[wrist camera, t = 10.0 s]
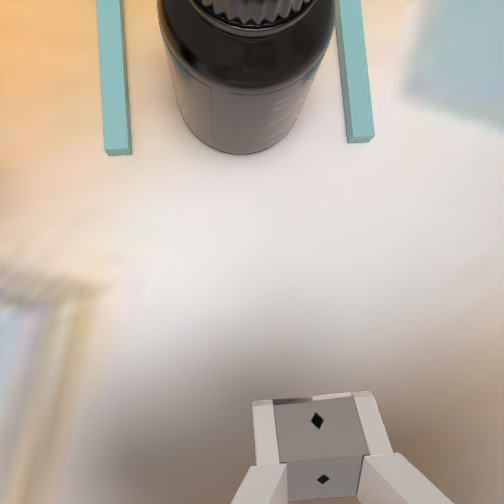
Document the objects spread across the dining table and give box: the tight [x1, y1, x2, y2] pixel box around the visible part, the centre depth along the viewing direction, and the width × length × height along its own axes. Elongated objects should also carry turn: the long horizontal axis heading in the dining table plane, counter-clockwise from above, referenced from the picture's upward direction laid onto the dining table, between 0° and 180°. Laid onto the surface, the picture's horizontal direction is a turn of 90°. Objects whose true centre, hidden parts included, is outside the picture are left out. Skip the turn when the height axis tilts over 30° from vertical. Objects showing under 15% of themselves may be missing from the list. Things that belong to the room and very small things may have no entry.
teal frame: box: [96, 0, 375, 156], centre depth 25 cm, size 14×14×1 cm
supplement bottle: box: [157, 0, 337, 154], centre depth 19 cm, size 7×7×12 cm
